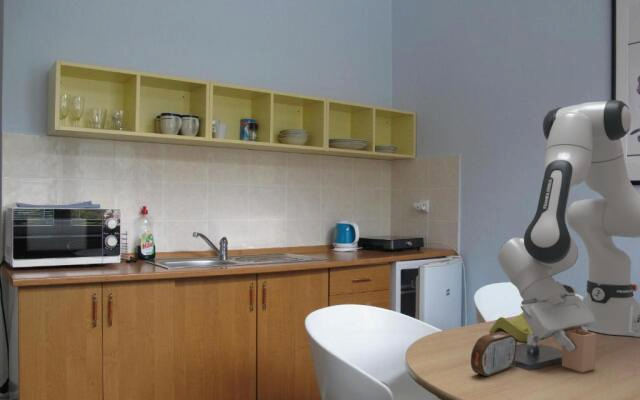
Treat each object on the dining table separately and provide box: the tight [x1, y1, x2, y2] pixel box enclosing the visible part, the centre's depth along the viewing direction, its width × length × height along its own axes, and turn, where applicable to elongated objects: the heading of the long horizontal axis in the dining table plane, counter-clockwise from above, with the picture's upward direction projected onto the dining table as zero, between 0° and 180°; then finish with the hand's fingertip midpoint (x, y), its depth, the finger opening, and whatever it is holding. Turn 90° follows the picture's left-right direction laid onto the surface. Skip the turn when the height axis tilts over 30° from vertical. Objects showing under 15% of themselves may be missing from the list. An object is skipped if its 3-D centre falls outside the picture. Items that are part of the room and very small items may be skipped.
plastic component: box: [488, 312, 534, 343], centre depth 156 cm, size 20×7×10 cm
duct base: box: [511, 334, 562, 371], centre depth 133 cm, size 18×12×5 cm, turn 124°
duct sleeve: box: [561, 329, 597, 373], centre depth 125 cm, size 5×5×8 cm
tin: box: [470, 331, 518, 377], centre depth 121 cm, size 15×3×8 cm, turn 131°
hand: (581, 347), depth 124 cm, fingers closed on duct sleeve, 5 cm apart
